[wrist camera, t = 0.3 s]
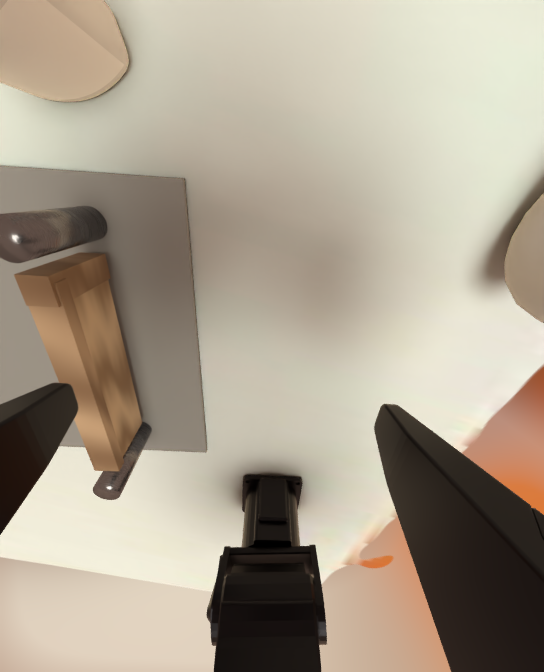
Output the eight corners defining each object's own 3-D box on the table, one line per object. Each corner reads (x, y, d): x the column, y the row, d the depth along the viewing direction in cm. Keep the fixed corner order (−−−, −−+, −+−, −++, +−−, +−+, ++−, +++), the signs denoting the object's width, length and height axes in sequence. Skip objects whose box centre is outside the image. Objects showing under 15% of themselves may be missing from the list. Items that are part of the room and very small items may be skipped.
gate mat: (207, 449, 28) (206, 452, 27) (-14, 439, 27) (-17, 442, 27) (184, 178, 16) (182, 178, 16) (-201, 152, 16) (-212, 150, 15)
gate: (145, 422, 24) (117, 473, 20) (125, 421, 24) (93, 472, 20) (106, 254, 17) (50, 276, 13) (78, 252, 17) (11, 274, 13)
